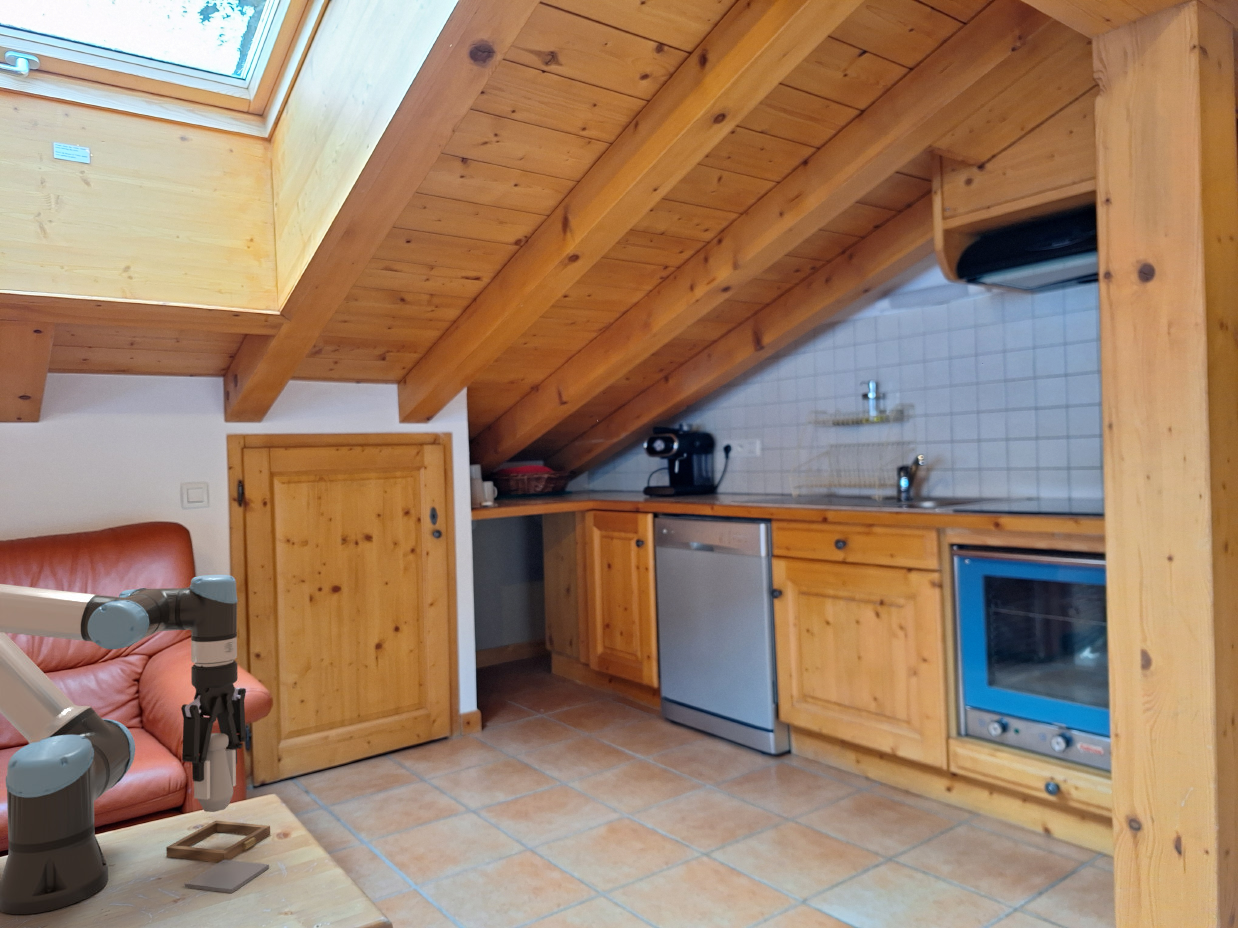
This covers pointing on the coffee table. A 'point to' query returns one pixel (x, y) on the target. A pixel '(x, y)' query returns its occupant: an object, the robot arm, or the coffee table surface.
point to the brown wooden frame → (185, 851)
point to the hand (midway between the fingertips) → (215, 791)
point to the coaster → (227, 876)
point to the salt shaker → (218, 775)
